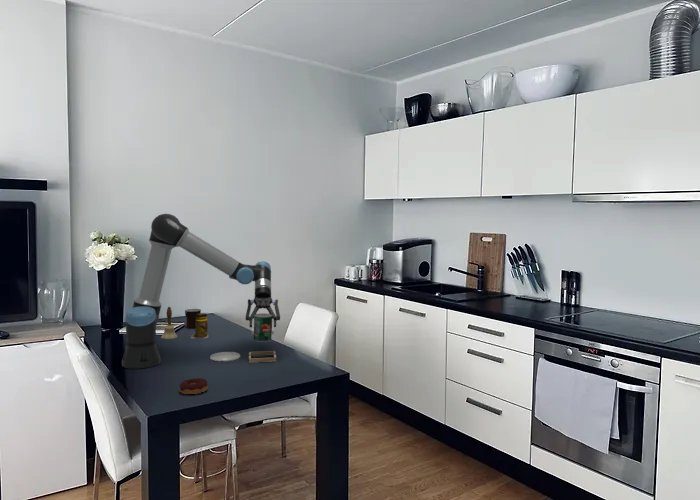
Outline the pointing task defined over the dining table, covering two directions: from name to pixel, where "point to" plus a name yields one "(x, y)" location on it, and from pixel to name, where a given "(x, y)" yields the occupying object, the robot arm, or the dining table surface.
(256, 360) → the wooden tray
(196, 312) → the coffee mug
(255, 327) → the canned tomato
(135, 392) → the dining table surface
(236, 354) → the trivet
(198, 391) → the donut
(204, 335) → the condiment
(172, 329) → the hand bell
